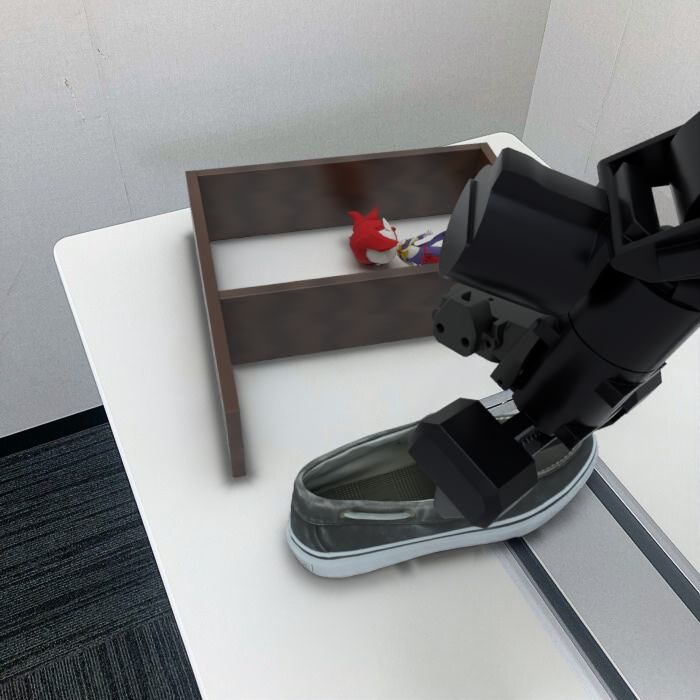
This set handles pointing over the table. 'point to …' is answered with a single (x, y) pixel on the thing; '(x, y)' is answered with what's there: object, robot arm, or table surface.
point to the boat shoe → (407, 504)
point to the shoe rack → (329, 292)
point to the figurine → (389, 242)
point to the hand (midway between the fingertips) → (483, 478)
